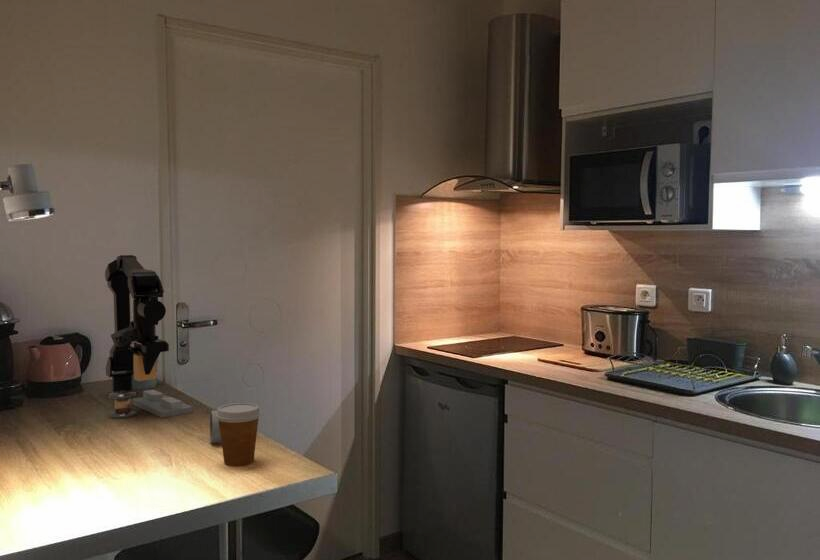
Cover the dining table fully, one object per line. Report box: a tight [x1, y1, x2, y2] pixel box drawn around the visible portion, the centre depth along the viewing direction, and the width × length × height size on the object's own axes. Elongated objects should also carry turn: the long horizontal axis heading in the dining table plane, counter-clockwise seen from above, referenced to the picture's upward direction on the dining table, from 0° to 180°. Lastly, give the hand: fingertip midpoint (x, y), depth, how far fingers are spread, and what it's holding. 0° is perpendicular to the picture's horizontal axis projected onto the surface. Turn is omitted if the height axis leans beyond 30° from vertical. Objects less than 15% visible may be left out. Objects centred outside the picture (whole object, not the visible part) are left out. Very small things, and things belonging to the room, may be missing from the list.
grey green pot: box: [132, 358, 159, 390], centre depth 226 cm, size 10×10×12 cm
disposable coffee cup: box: [216, 402, 262, 467], centre depth 153 cm, size 10×10×12 cm
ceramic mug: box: [209, 410, 222, 445], centre depth 170 cm, size 11×8×8 cm
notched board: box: [131, 389, 194, 419], centre depth 199 cm, size 20×9×4 cm, turn 43°
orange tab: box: [133, 354, 157, 381], centre depth 193 cm, size 3×5×7 cm, turn 132°
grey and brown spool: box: [108, 390, 138, 419], centre depth 192 cm, size 7×7×6 cm
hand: (145, 373), depth 194 cm, fingers closed on orange tab, 3 cm apart
